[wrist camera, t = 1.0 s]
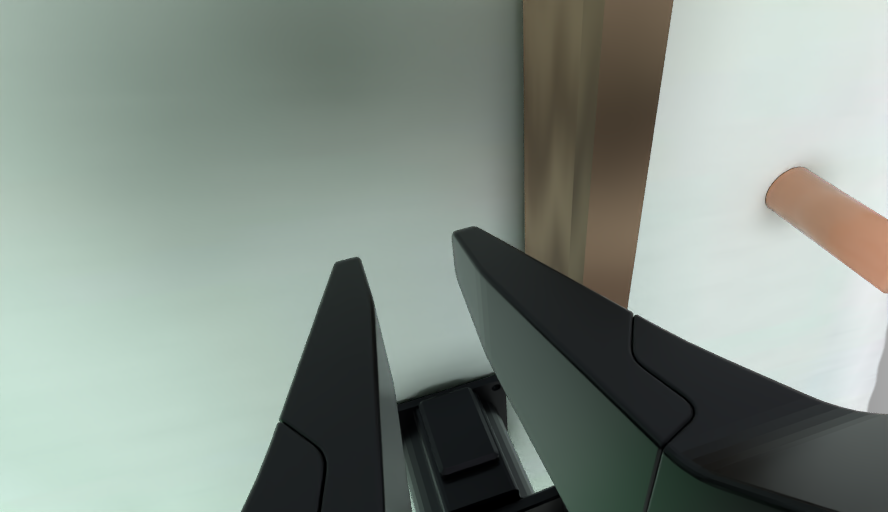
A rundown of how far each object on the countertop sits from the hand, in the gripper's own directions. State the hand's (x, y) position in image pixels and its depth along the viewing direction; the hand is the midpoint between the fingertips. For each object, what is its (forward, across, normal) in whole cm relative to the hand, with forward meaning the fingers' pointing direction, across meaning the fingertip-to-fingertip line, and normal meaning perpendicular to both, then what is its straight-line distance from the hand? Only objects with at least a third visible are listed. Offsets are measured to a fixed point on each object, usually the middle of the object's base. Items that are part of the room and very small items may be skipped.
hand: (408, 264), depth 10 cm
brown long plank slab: (+10, -7, +2) cm, 13 cm away
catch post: (+11, -20, +11) cm, 26 cm away
